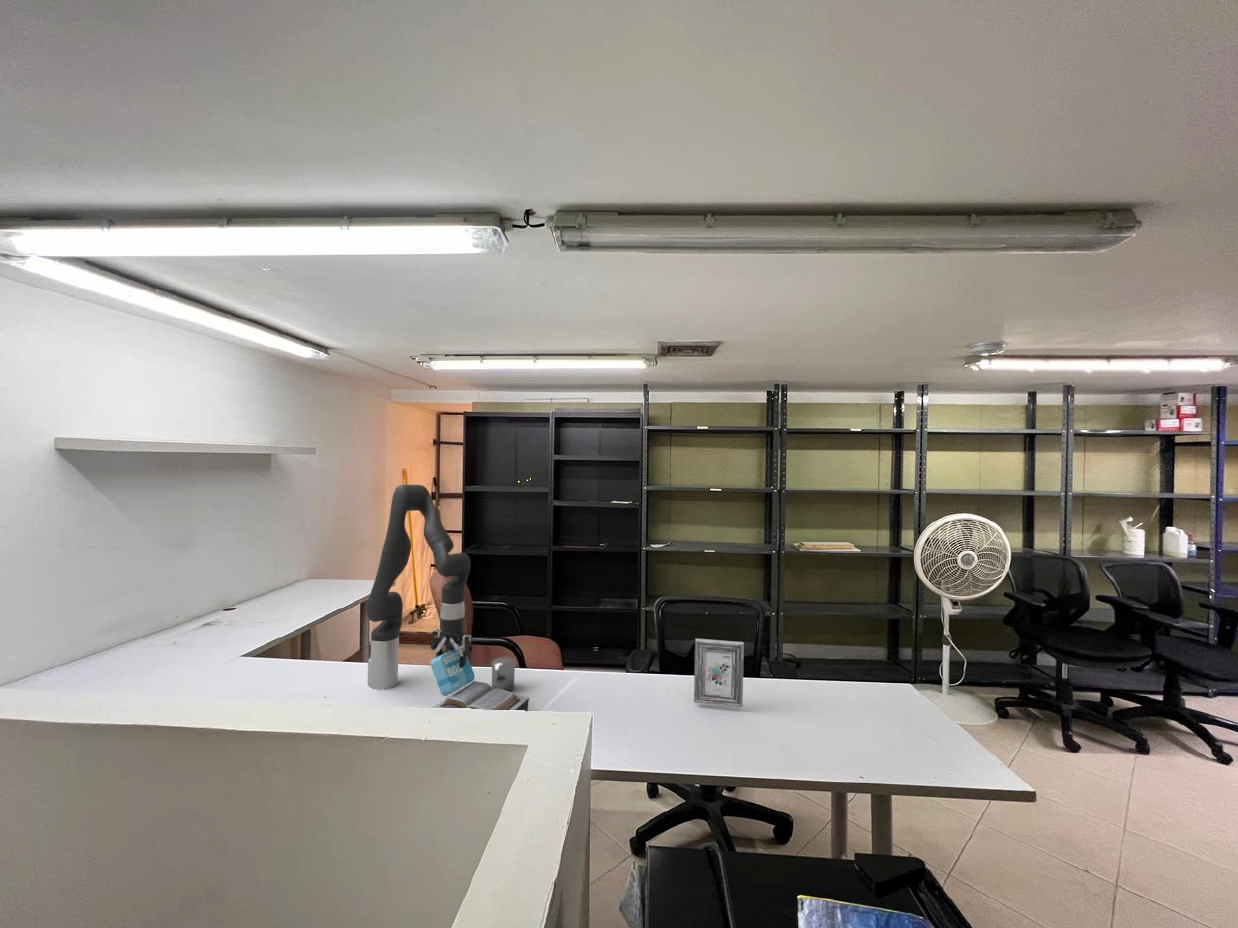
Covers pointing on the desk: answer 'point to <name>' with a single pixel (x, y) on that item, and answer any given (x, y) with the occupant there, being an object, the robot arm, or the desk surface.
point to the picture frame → (718, 672)
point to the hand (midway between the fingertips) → (450, 664)
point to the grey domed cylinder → (503, 673)
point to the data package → (451, 672)
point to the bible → (484, 698)
